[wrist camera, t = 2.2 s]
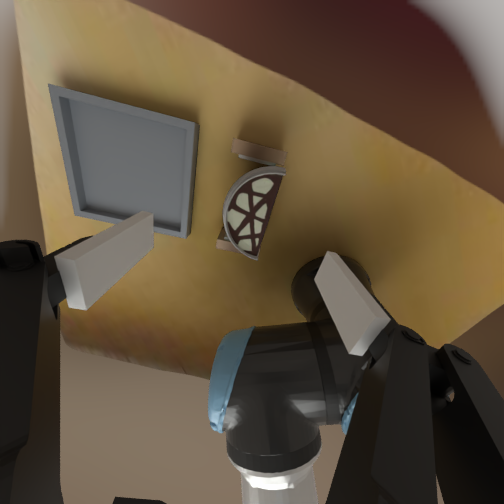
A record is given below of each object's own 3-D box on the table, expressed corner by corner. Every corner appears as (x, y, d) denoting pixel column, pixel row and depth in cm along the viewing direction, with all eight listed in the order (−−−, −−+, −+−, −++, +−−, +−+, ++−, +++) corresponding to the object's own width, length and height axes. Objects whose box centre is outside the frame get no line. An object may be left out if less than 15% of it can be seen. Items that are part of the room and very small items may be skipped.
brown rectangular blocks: (282, 152, 29) (287, 152, 24) (257, 244, 36) (258, 256, 31) (236, 140, 28) (233, 137, 24) (220, 236, 35) (215, 248, 31)
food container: (239, 152, 29) (232, 152, 20) (277, 164, 29) (287, 169, 21) (223, 227, 34) (212, 253, 25) (256, 235, 35) (256, 263, 26)
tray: (199, 125, 27) (194, 122, 25) (190, 233, 35) (186, 238, 33) (65, 89, 26) (47, 83, 23) (86, 211, 33) (74, 215, 31)
